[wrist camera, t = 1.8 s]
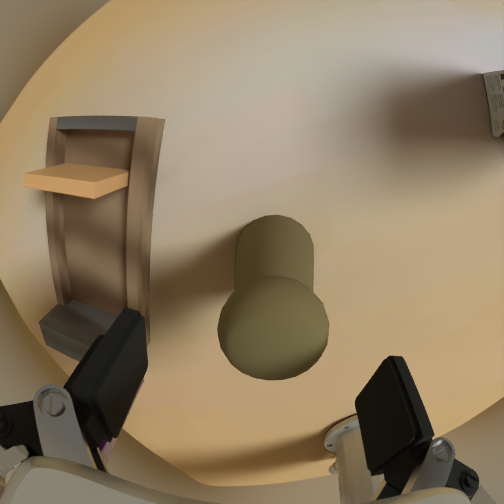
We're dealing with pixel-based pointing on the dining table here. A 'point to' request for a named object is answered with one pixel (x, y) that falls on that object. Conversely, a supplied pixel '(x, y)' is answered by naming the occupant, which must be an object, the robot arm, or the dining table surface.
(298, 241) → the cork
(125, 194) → the lane
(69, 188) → the pusher
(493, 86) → the coffee box
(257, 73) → the dining table surface
